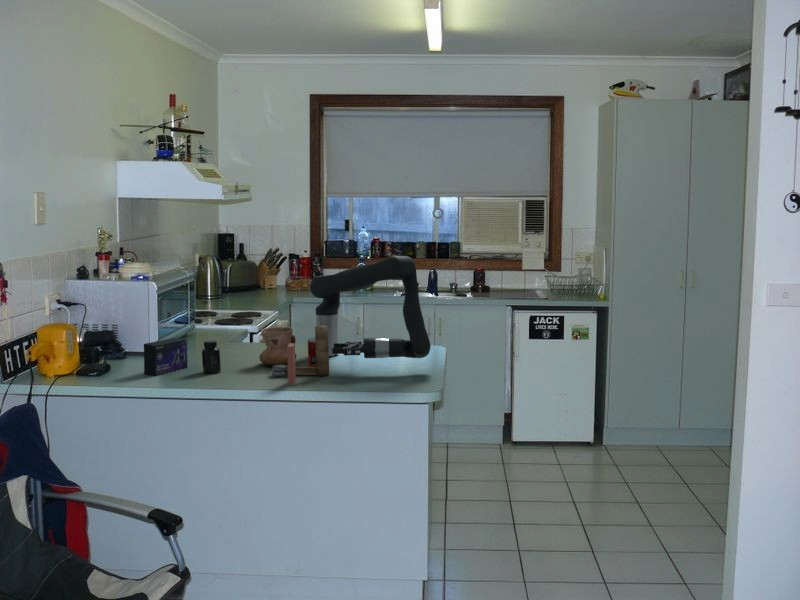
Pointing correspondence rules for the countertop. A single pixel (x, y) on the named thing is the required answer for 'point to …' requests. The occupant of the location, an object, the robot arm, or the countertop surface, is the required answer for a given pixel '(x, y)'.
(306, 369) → the brown l-shaped piece
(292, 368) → the block
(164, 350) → the box
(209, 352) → the supplement bottle
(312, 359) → the canned food
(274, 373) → the pivot disc
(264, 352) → the ceramic jug
